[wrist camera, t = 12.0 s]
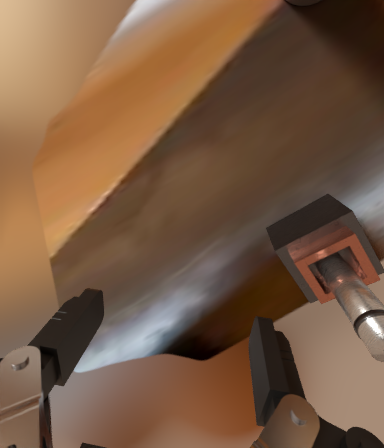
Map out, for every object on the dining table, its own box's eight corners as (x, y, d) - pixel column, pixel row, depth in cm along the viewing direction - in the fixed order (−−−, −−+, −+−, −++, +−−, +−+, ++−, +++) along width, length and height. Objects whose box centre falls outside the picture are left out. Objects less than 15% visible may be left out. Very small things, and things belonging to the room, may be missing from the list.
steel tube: (335, 245, 33) (407, 327, 20) (347, 265, 34) (423, 354, 22) (309, 258, 34) (362, 343, 22) (321, 277, 35) (378, 367, 23)
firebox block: (328, 193, 38) (362, 218, 29) (356, 245, 41) (396, 283, 32) (266, 228, 42) (278, 260, 32) (296, 273, 45) (316, 315, 35)
